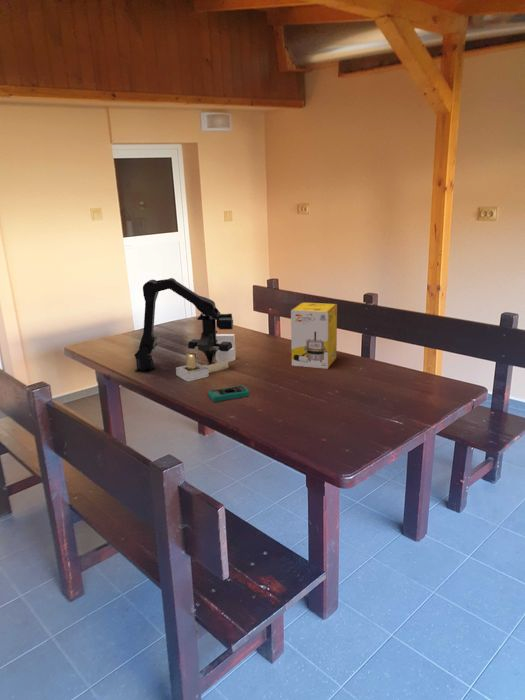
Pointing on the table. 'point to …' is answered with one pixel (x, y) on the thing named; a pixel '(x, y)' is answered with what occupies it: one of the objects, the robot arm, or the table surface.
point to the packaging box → (314, 335)
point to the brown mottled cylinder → (191, 361)
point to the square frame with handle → (200, 370)
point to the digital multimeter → (228, 393)
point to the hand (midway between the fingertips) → (210, 364)
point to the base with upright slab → (226, 354)
